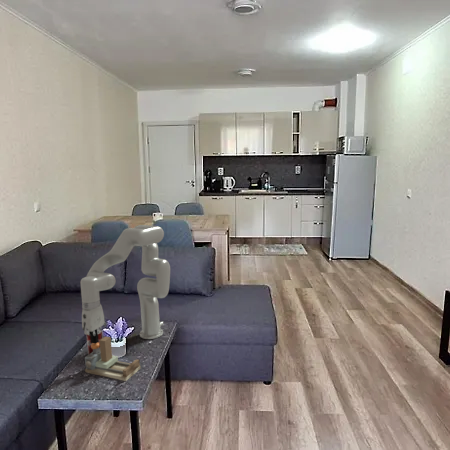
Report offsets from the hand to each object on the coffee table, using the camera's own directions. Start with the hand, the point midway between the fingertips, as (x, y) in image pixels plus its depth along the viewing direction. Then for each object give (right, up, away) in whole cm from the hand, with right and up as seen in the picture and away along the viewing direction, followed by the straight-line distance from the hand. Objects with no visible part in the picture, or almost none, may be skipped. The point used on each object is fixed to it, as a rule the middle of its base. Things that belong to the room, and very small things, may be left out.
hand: (94, 342), depth 182 cm
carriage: (+6, -9, -1) cm, 11 cm away
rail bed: (+9, -12, -1) cm, 15 cm away
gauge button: (0, -5, +1) cm, 5 cm away
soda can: (-3, -10, +13) cm, 17 cm away
